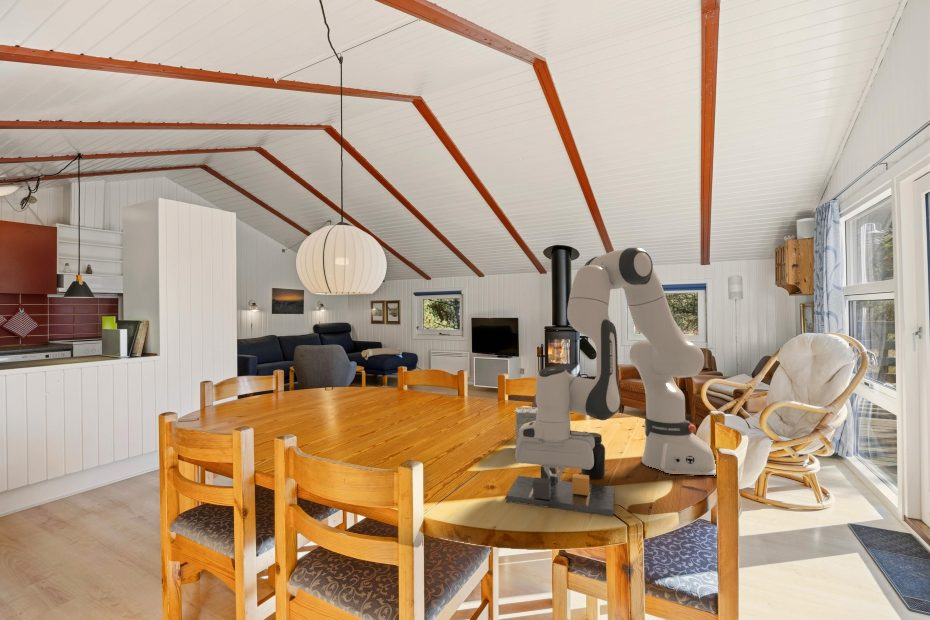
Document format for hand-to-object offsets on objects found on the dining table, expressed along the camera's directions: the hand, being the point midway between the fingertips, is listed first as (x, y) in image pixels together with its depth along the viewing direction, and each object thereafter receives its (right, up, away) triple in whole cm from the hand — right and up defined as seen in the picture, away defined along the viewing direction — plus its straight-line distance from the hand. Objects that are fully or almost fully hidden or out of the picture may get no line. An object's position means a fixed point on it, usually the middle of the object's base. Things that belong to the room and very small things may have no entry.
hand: (554, 481), depth 115 cm
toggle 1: (0, -2, +6) cm, 6 cm away
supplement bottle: (+14, -4, +14) cm, 20 cm away
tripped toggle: (+6, -2, -2) cm, 7 cm away
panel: (+2, -4, -1) cm, 4 cm away
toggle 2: (-4, -2, -5) cm, 6 cm away
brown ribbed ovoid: (+6, -4, +54) cm, 55 cm away
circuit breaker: (-2, -4, +37) cm, 37 cm away
